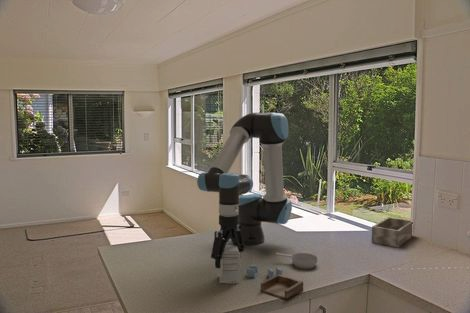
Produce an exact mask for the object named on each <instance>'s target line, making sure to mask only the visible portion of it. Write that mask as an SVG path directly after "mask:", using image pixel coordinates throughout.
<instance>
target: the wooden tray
mask: <svg viewBox="0 0 470 313" xmlns="http://www.w3.org/2000/svg"><path fill="white" fill-rule="evenodd" d="M303 290H304V281H303V280H299V279H296V278H293V277H292V278H291V277H289V276H284V275H283V274H282V275H279V274H277V275H275V276H273V277H271V278H267V279H266V280H264V281H262V282H260V292H262V293H264V294H265V293H266V294H268V295H271V296H275V297H278V298H280V299H282V300H283V299H284V300H285V301H286V300H287V301H288V300H290V299H291V298H293V297H294V296H296V295H297V294H299V293H300V292H302V291H303Z"/></svg>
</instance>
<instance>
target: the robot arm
mask: <svg viewBox="0 0 470 313" xmlns="http://www.w3.org/2000/svg"><path fill="white" fill-rule="evenodd" d="M289 127H290V126H289V122H288V118H287V117H286V116H285V115H284V113H278V112H251V113H248V114H246V115H244V116H242V117H241V118H239V119H238V120H236V122H235V123H234V124H233V125H232V127H231V128H230V130H229V136H228V137H227V140H226V141H225V142H224V144H223V146H222V147H221V150H220V151H219V153H218V155H217V156H216V158H215V159H214V161H213V163H212V165H211V166H210V168H209V170H208V171H207V172H200V174H199V175H198V176H197V180H196V184H197V187H198V189H199V190H200V191H203V192H207V193H209V192H210V193H218V214H219V215H218V224H219V226H220V230H218V231H216V230H215V231H214V239H213V244H212V250H211V256H210V258H211V259H213V260H214V267H215V276H217V277H219V276H220V277H222V276H223V259H221V258H222V255H223V252H224V249H225V246H226V245H227V243H228V242H229V240H231V242H232V245H236V246H237V247H238V250H239V270H240V269H241V259H242V253H243V252H244V249H245V247H246V245H247V244H250V246H253V245H260V244H262V243H265V241H266V240H265V238H266V237H265V233H264V231H263V227H262V226H263V225H262V223H270V224H275V225H286V224H288V222H289V220H290V218H291V215H292V210H293V203H292V201H291V200H289V199H288V195H287V194H286V193H285V189H284V188H285V187H284V171H283V170H284V168H283V167H284V166H283V165H284V164H283V148H282V145H284V143H285V142H286V139H288V136H289V131H290V130H289V129H290V128H289ZM252 138H255V139H258V140H259V144H260V145H261V146H262V149H263V150H262V151H263V164H264V166H263V168H264V180H265V181H264V184H265V194H264V195H263V196H262V194H260V193H253V194H252V193H251V194H250V193H249V194H248V192H250V191H252V189H253V187H254V181H253V179H252V177H251V176H249V174H238V173H234V172H230V170H231V169H232V166H233V164H234V163H235V161H236V159H237V157H238V156H239V154H240V152H241V150H242V149H243V146H244V145H245V144H246V143H248V142H249V140H250V139H252ZM251 244H252V245H251Z"/></svg>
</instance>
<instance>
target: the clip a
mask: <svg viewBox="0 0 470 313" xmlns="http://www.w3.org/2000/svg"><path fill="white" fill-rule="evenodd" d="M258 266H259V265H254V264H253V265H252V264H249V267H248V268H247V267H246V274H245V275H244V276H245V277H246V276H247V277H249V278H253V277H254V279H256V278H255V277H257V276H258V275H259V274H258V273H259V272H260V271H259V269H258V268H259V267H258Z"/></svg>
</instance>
